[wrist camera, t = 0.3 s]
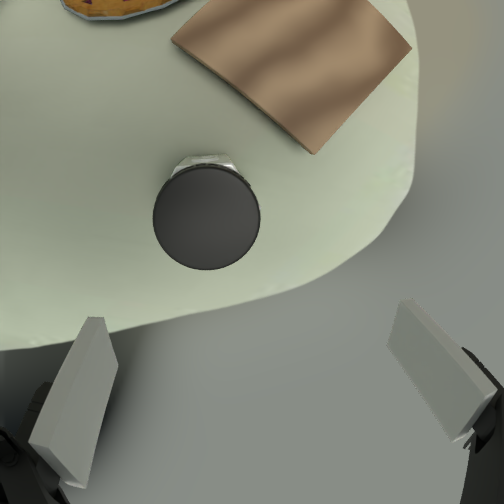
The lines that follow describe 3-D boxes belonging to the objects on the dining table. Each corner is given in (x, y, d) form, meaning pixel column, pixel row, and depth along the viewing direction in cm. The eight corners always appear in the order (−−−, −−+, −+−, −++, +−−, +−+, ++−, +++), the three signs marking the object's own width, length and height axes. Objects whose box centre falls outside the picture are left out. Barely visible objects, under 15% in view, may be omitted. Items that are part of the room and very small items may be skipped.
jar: (247, 151, 32) (266, 162, 21) (249, 222, 35) (267, 266, 24) (165, 156, 31) (140, 171, 20) (171, 227, 34) (154, 274, 23)
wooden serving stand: (176, 51, 27) (170, 38, 22) (282, -40, 23) (291, -59, 18) (300, 151, 33) (314, 154, 28) (390, 55, 29) (412, 48, 24)
